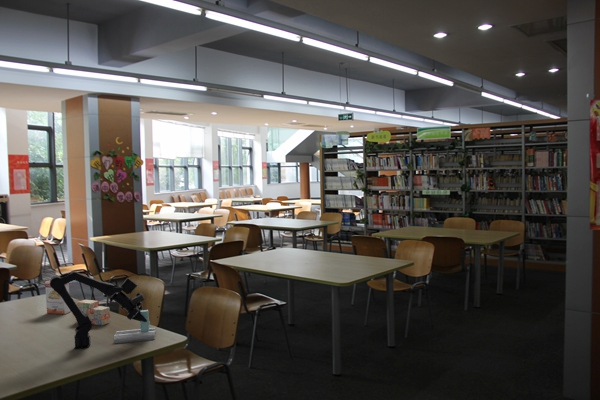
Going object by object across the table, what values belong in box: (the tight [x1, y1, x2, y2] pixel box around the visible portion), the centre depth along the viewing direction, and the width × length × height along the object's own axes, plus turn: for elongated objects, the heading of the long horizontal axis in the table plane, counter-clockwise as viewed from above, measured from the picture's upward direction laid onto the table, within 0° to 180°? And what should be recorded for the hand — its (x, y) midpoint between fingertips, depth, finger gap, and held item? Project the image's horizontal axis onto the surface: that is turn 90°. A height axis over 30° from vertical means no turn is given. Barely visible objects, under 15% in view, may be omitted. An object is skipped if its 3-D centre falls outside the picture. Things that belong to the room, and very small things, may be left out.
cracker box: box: [44, 279, 72, 315], centre depth 315 cm, size 14×6×21 cm, turn 73°
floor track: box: [113, 327, 157, 345], centre depth 258 cm, size 20×12×4 cm, turn 102°
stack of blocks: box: [75, 299, 111, 326], centre depth 291 cm, size 21×6×12 cm, turn 61°
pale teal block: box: [139, 309, 151, 332], centre depth 259 cm, size 5×3×13 cm, turn 102°
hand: (147, 319), depth 259 cm, fingers open, 6 cm apart
